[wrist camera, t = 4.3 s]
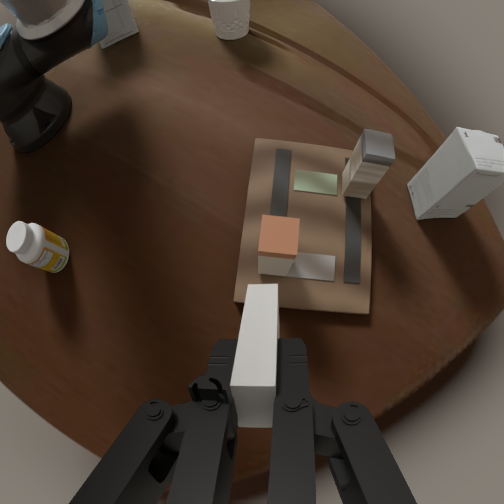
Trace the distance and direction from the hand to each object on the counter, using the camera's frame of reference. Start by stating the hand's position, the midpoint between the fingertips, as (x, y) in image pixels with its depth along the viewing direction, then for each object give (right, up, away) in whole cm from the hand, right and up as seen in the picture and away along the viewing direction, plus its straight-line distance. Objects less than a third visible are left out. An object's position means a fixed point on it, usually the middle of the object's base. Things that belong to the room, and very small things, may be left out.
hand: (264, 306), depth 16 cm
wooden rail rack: (+7, +7, +23) cm, 24 cm away
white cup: (-5, +47, +33) cm, 58 cm away
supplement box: (-32, +54, +36) cm, 72 cm away
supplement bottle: (-29, +2, +22) cm, 37 cm away
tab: (+2, +2, +19) cm, 20 cm away
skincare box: (+26, +10, +23) cm, 37 cm away
